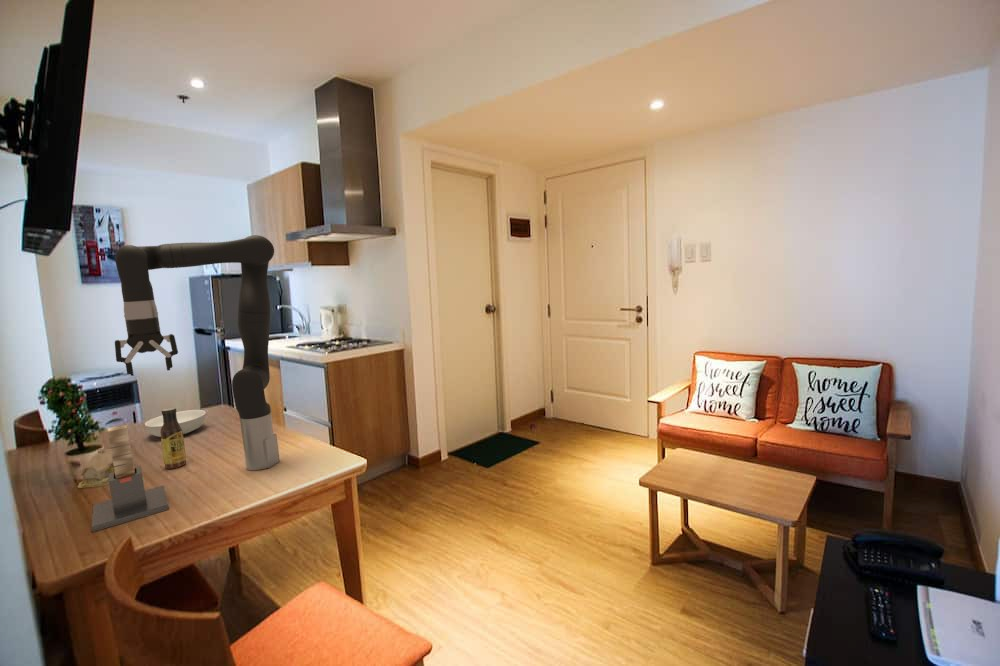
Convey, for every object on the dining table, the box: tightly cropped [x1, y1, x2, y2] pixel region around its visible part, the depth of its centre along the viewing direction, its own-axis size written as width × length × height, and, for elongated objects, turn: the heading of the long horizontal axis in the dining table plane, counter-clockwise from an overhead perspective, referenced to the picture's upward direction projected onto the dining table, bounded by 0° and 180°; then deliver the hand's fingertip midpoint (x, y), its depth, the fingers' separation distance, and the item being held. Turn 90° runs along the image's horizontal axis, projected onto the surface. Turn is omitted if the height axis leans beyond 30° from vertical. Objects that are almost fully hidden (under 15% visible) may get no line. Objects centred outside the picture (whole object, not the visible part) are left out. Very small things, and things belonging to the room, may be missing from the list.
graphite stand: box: [91, 465, 170, 533], centre depth 130 cm, size 16×16×10 cm
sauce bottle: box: [160, 407, 187, 470], centre depth 159 cm, size 7×6×20 cm
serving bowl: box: [144, 409, 207, 438], centre depth 195 cm, size 21×21×7 cm
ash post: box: [107, 424, 135, 478], centre depth 128 cm, size 4×4×16 cm
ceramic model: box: [77, 448, 115, 489], centre depth 152 cm, size 14×11×10 cm
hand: (150, 372), depth 136 cm, fingers open, 8 cm apart
